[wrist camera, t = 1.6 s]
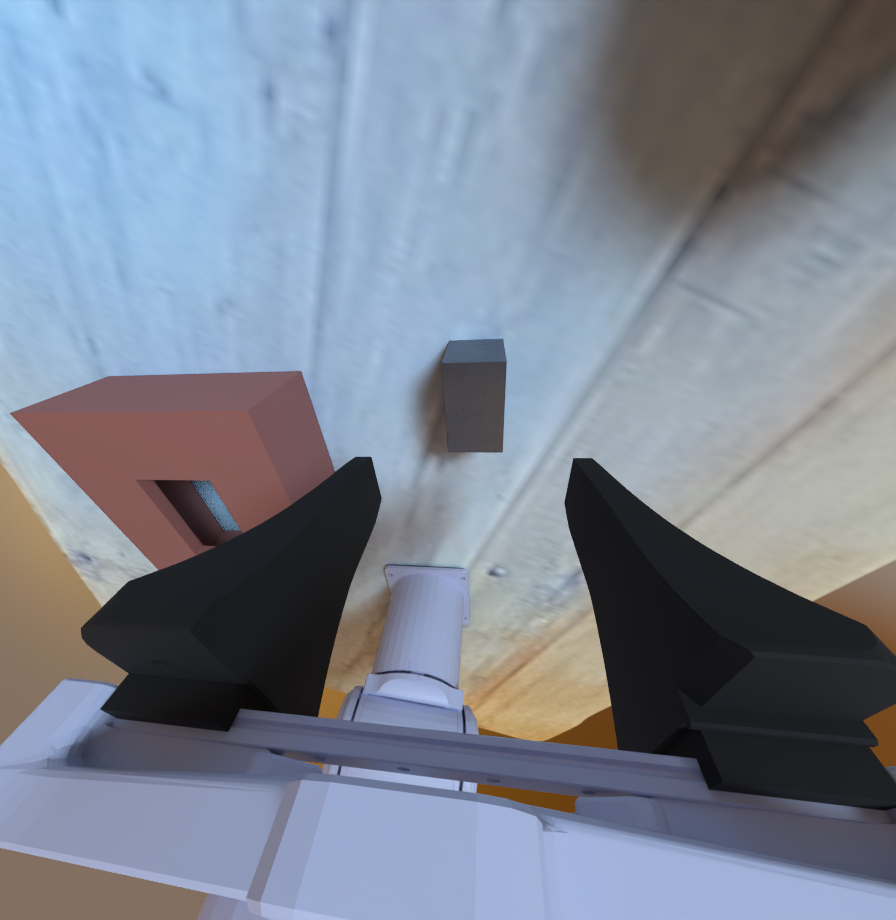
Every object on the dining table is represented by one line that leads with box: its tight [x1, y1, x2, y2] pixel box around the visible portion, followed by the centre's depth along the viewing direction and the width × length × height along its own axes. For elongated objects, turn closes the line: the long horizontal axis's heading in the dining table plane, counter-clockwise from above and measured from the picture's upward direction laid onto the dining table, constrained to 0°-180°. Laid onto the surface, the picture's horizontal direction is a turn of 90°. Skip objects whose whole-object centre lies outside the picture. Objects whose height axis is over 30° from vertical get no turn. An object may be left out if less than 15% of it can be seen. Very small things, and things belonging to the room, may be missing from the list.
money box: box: [10, 371, 335, 570], centre depth 23 cm, size 16×14×6 cm
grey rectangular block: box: [441, 339, 506, 452], centre depth 18 cm, size 5×3×4 cm, turn 3°
